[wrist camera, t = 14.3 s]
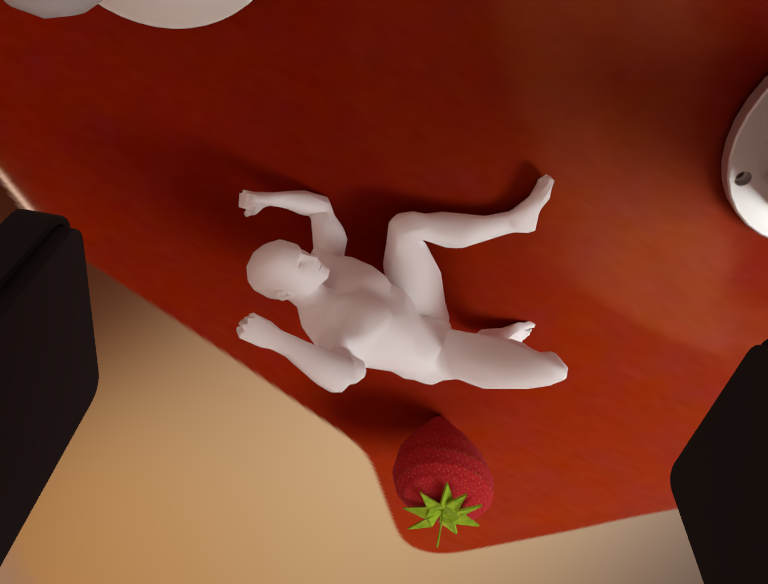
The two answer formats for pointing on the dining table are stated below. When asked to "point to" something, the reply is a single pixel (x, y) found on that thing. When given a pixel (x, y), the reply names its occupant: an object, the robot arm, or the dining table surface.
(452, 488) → the strawberry
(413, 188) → the dining table surface
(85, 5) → the salt shaker
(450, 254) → the dining table surface
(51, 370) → the robot arm
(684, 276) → the dining table surface
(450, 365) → the person figurine
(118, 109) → the dining table surface
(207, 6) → the ceramic coaster
